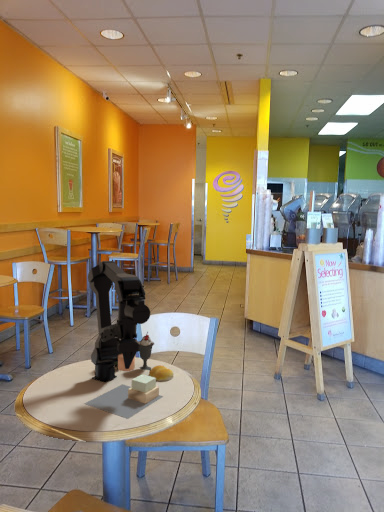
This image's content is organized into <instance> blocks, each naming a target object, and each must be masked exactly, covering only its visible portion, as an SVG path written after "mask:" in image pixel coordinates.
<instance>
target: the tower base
mask: <svg viewBox="0 0 384 512" xmlns="http://www.w3.org/2000/svg"><path fill="white" fill-rule="evenodd" d="M130 387H131V388H129V389H128V398H129V399H132V400H135V401H139V402H142V403H145V404H146V403H148V402H149V401H151V400H153V399H154V398H156V397H158V396H159V395H160V387H159V386H157V385H156V387H155V388H153V389H151V390H150V391H148V392H146V393H144V392H141V391H137V390H134V389H132V386H130Z"/></svg>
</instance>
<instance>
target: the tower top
mask: <svg viewBox="0 0 384 512" xmlns="http://www.w3.org/2000/svg"><path fill="white" fill-rule="evenodd" d="M156 386H157V380H156V378H154V377H151V376H150V375H146V374H143V373H142V374H141V375H138V376H136V377H134V378H132V379H131V387H132V389H134V390H137V391H141V392H144V393H146V392H148V391H150V390H151V389H153V388H155V387H156Z"/></svg>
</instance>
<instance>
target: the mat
mask: <svg viewBox="0 0 384 512" xmlns="http://www.w3.org/2000/svg"><path fill="white" fill-rule="evenodd" d="M131 387H132V386H129V385H126V384H120V385H119V386H117V387H114V388H112V389H110V390H108V391H106V392H105V393H102V394H100V395H98V396H97V397H94V398H93V399H90V400H88V401H86V402H85V403H83V404H84V405H87V406H89V407H92V408H94V409H97V410H100V411H104V412H107V413H110V414H113V415H116V416H119V417H121V418H124V419H126V420H129V419H130V418H132V417H134V416H135V415H137V414H138V413H139V412H141V411H143V410H144V409H146V408H148V407H149V406H151V405H152V404H155V402H156V403H157V401H159V400H160V399H162V398H163V397H164V396H163V395H161V394H159V396H158V397H156V398H154V399H153V400H151V401H149V402H148V403H146V404H145V403H142V402H139V401H135V400H132V399H129V398H128V389H129V388H131Z"/></svg>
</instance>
